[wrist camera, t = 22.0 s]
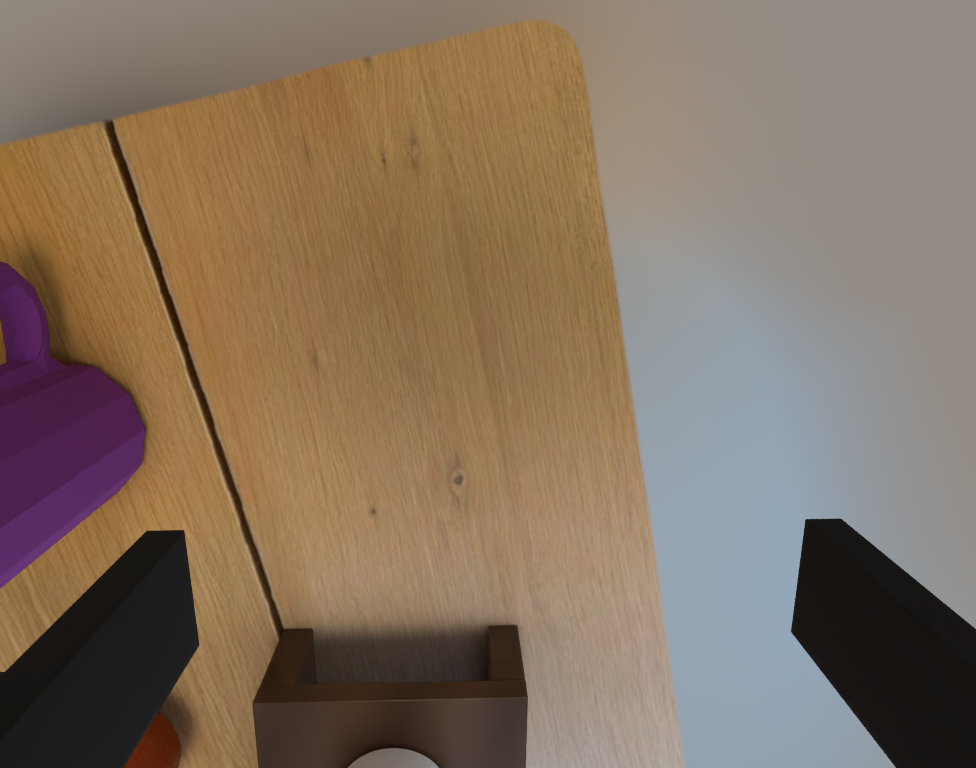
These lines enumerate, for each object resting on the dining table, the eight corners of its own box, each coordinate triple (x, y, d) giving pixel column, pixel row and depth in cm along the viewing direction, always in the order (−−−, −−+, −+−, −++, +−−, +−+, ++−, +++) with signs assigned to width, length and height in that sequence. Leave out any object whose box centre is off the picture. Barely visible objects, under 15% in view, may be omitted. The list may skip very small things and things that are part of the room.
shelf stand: (517, 625, 46) (527, 697, 39) (513, 778, 49) (522, 869, 42) (283, 629, 45) (252, 703, 38) (295, 784, 48) (268, 878, 41)
